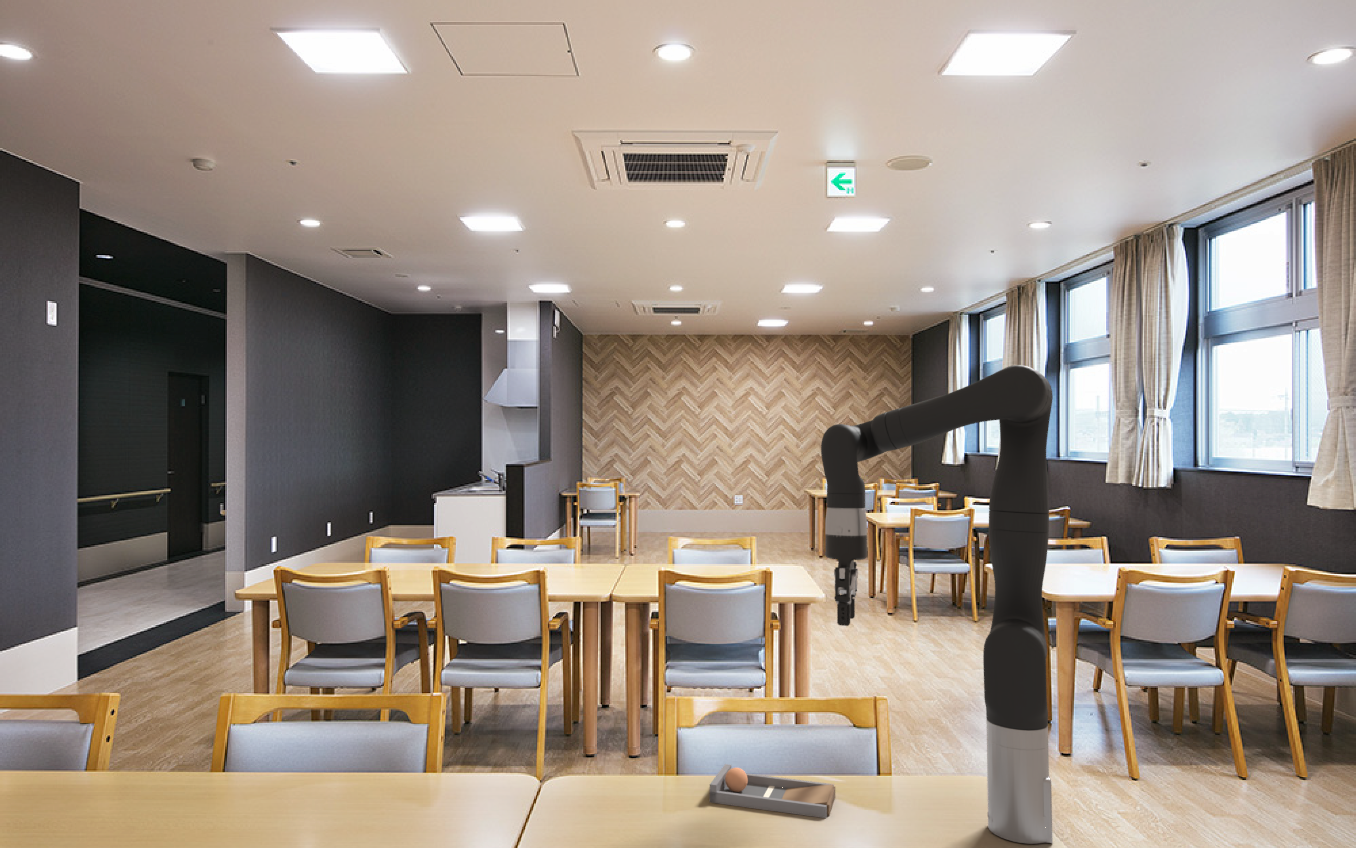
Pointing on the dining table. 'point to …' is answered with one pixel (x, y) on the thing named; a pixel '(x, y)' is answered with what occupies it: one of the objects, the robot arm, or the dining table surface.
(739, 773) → the ball
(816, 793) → the ramp
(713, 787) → the lane
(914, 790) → the dining table surface
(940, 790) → the dining table surface
